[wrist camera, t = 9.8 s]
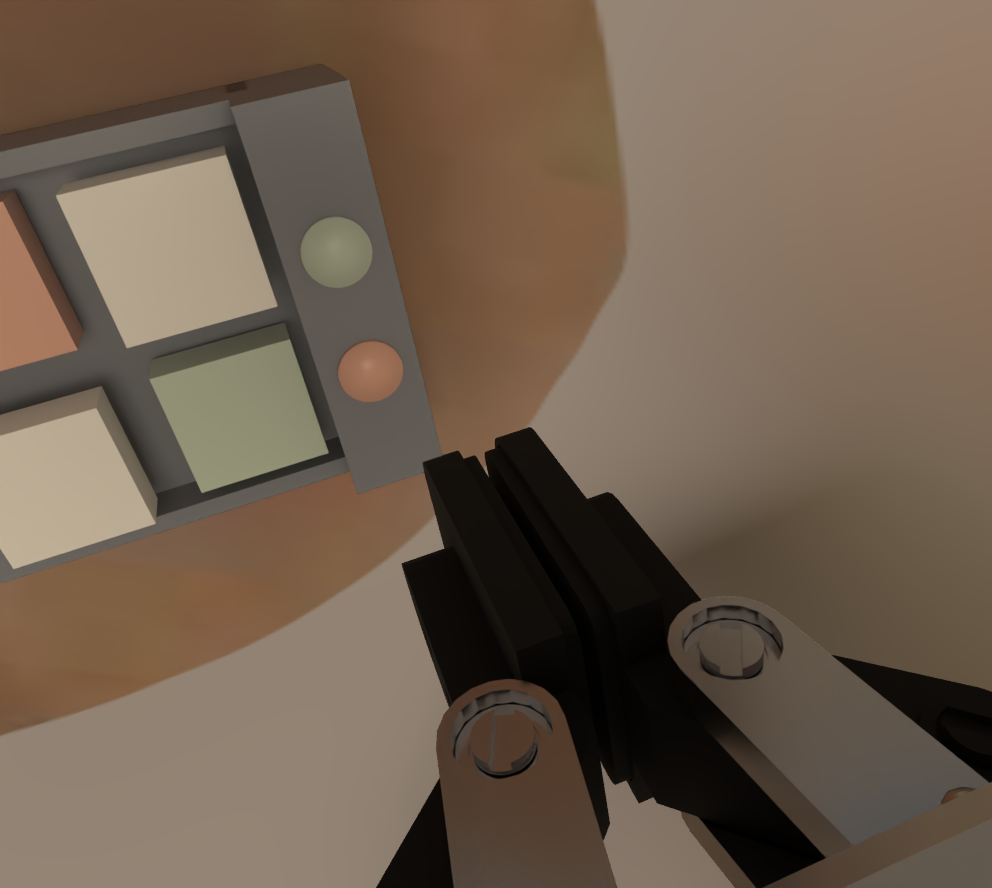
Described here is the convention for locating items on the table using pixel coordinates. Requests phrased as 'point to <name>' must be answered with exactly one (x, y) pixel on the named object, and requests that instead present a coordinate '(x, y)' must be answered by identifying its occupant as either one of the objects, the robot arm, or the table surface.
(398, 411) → the keypad
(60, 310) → the key terracotta
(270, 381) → the key sage
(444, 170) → the table surface
